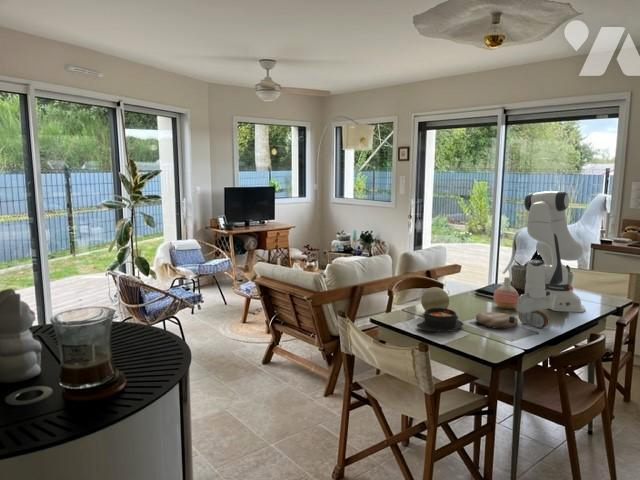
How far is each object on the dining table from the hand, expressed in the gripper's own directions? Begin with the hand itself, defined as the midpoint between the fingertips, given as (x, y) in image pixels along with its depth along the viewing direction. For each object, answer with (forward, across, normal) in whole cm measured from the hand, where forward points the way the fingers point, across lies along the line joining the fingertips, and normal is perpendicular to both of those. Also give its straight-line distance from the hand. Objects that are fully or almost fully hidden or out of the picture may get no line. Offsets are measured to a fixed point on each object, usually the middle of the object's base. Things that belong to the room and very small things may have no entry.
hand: (532, 319), depth 243 cm
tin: (+4, 0, 0) cm, 4 cm away
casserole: (+4, -44, +18) cm, 48 cm away
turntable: (+2, -14, +11) cm, 17 cm away
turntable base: (+4, -14, +10) cm, 18 cm away
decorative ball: (+4, -32, +37) cm, 49 cm away
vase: (+4, +12, +28) cm, 31 cm away
